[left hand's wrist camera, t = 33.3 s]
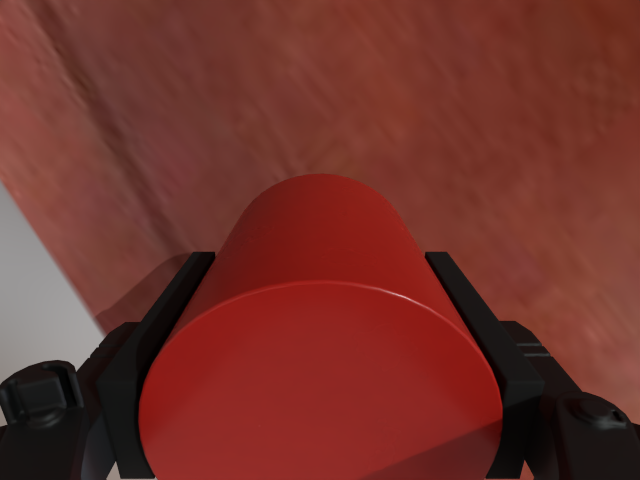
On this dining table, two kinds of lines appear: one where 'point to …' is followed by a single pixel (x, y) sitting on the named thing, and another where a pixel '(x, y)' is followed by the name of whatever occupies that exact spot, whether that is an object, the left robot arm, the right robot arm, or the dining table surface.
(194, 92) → the dining table surface
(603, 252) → the dining table surface
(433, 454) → the can
